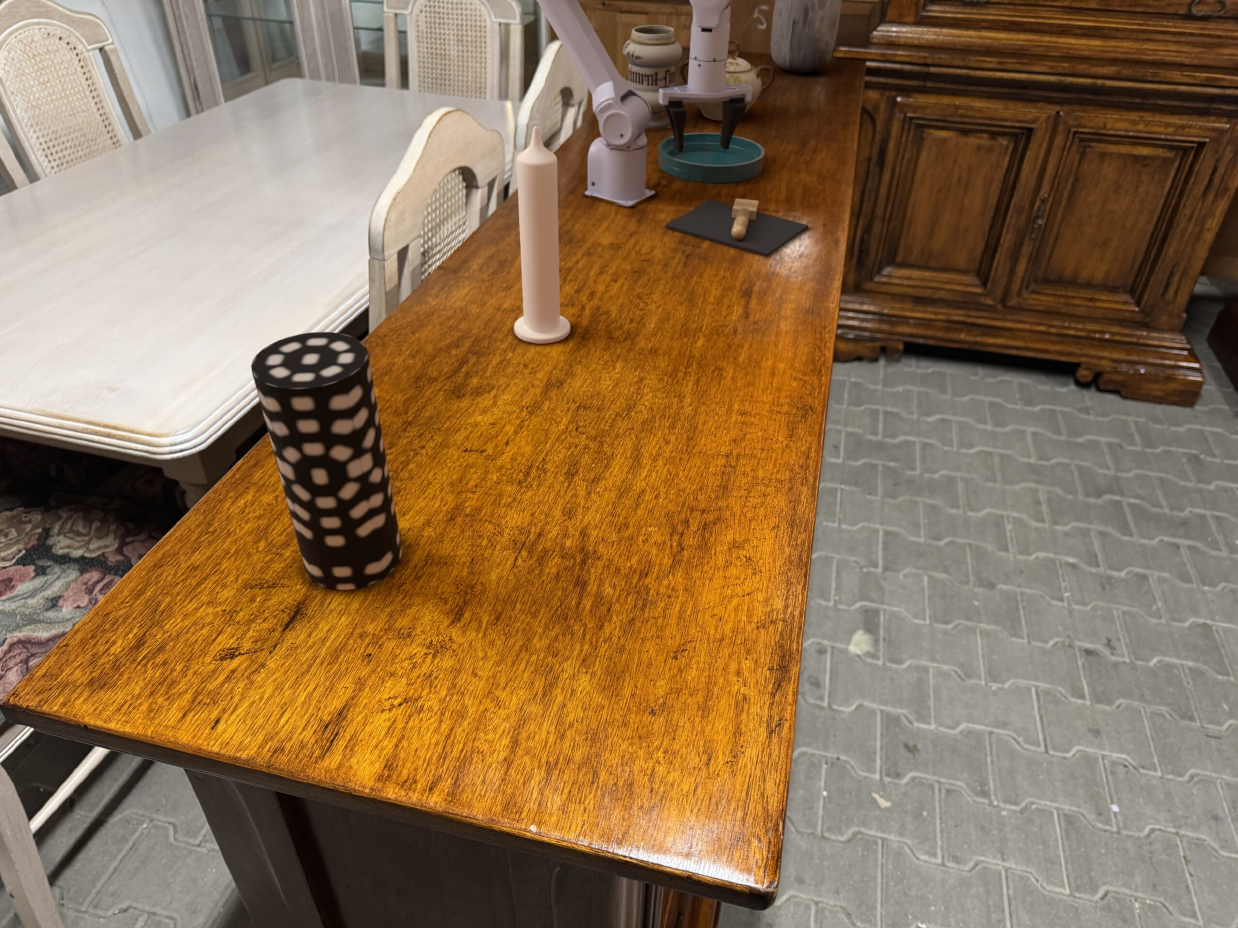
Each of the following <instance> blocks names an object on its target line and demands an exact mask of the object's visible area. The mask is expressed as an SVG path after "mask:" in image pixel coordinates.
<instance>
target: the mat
mask: <svg viewBox="0 0 1238 928" xmlns="http://www.w3.org/2000/svg"><path fill="white" fill-rule="evenodd" d="M733 206H734V204H731V203H726V202H723V201H718V200H714V199H709V200H707V201H706V202H703V203H702V204H700V205H698V206H696V207H694V208H693V209H691V210H689V211H688V212H686V213H683V214H682V215H680V216H679V217H676V218H675V219H672V220H671V221H670V222H668V223H666V224H665V228H667V229H670V230H673V231H677V232H680V233H684V234H687V235H691V236H694V237H698V238H701V239H705V240H708V241H711V242H715V243H718V244H721V245H726V246H729V247H732V248H736V249H740V250H743V251H747V252H750V253H753V254H756V255H759V256H763V257H766V258H768V257H769V256H771V255H772V254H773V253H774V252H776V251H777V250H779V249H780V248H782V247H783V246H785V245H787V243H789V242H790V241H792V240H793V239H795V238H796V237H797V236H799V235H800V234H802V233H803V232H805V231H806V230H807V229H808V228H809V224H805V223H802V222H797V221H794V220H790V219H786V218H783V217H778V216H775V215H771V214H768V213H763V212H760V211H757V215H756V219H755V220H752V219H749V223H748V227H747V230H746V234H745V236H744V238H743V239H741V240H736V239H734V238H733V237H732V235H731V230H732V227H733V224H734V221H735V218H733V217H732V210H733Z"/></svg>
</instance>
